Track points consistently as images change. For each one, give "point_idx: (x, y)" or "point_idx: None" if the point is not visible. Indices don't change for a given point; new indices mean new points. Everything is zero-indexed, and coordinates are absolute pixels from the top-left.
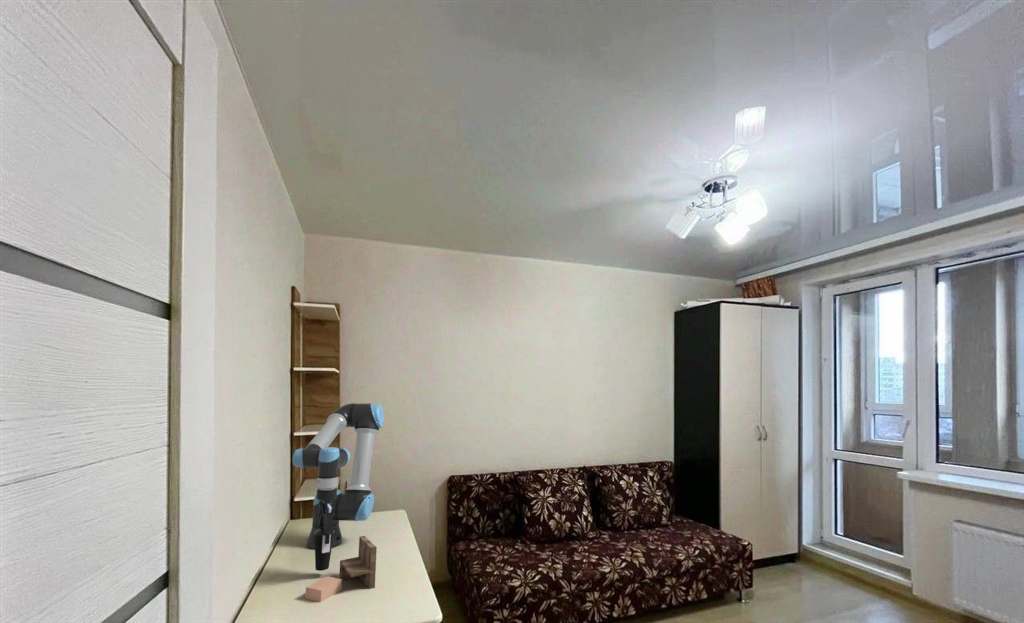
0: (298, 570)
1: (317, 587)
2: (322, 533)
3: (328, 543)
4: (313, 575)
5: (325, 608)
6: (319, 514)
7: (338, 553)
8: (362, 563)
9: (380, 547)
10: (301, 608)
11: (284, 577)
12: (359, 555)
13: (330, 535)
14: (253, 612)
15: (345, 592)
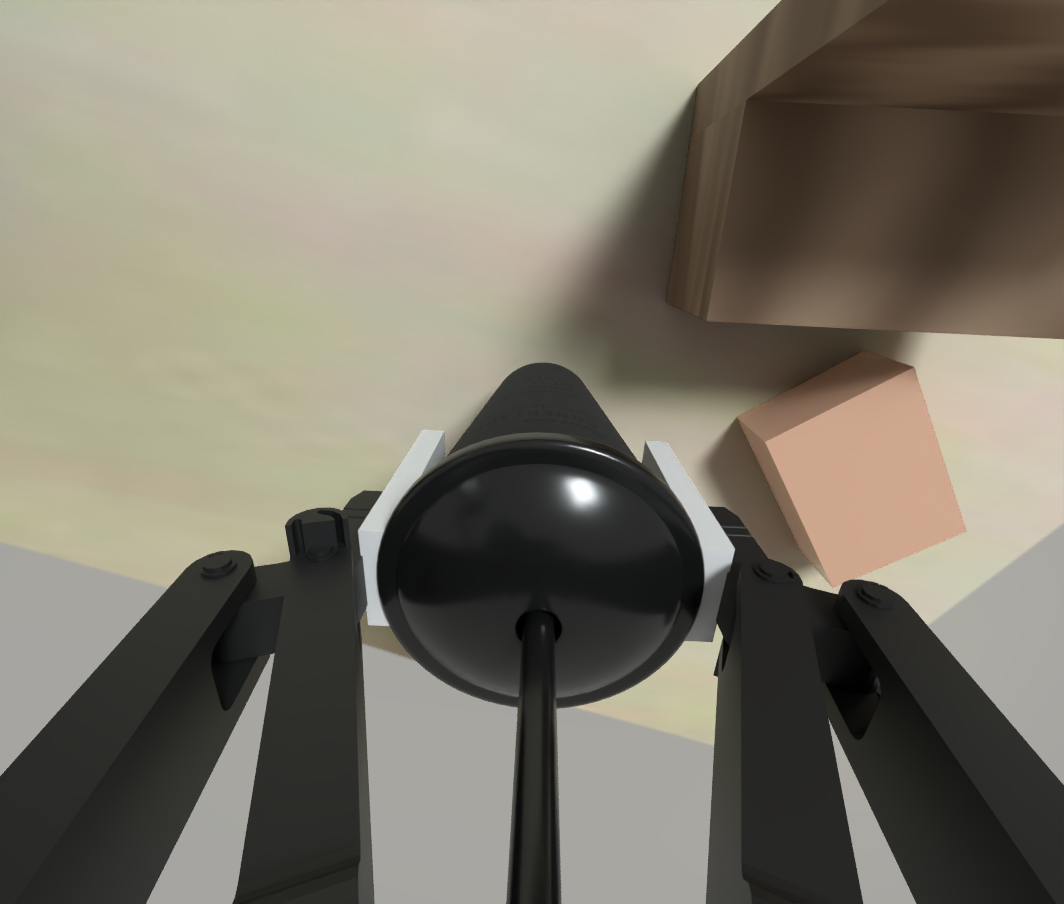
0: (360, 492)
1: (898, 538)
2: (659, 650)
3: (723, 515)
4: None
5: (1011, 496)
6: (154, 866)
7: (98, 126)
8: (968, 134)
9: None
10: (899, 587)
11: None
12: (797, 94)
13: (724, 537)
14: None
15: (921, 337)
